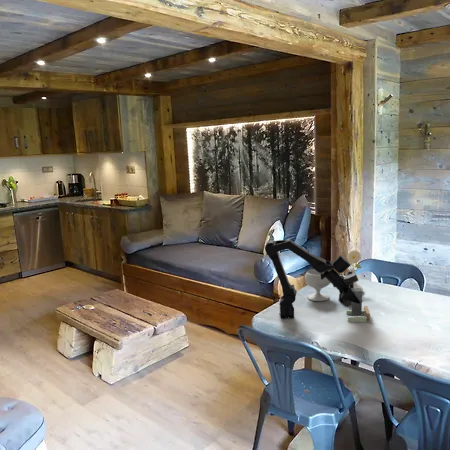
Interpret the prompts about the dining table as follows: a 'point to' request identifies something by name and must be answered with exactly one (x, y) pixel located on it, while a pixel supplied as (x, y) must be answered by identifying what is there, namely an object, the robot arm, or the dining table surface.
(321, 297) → the chalice
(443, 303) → the dining table surface
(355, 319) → the keeper
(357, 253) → the flower in vase
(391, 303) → the dining table surface
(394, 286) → the dining table surface
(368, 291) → the dining table surface
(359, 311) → the block
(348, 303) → the phone stand
